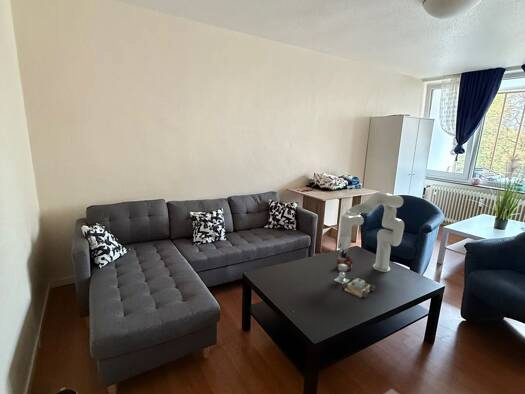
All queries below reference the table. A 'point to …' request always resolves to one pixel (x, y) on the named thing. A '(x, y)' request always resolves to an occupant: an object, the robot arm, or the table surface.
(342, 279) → the grey square pedestal base
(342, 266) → the wheel hub
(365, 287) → the birch chassis
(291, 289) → the table surface
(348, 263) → the toy fire truck
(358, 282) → the block
